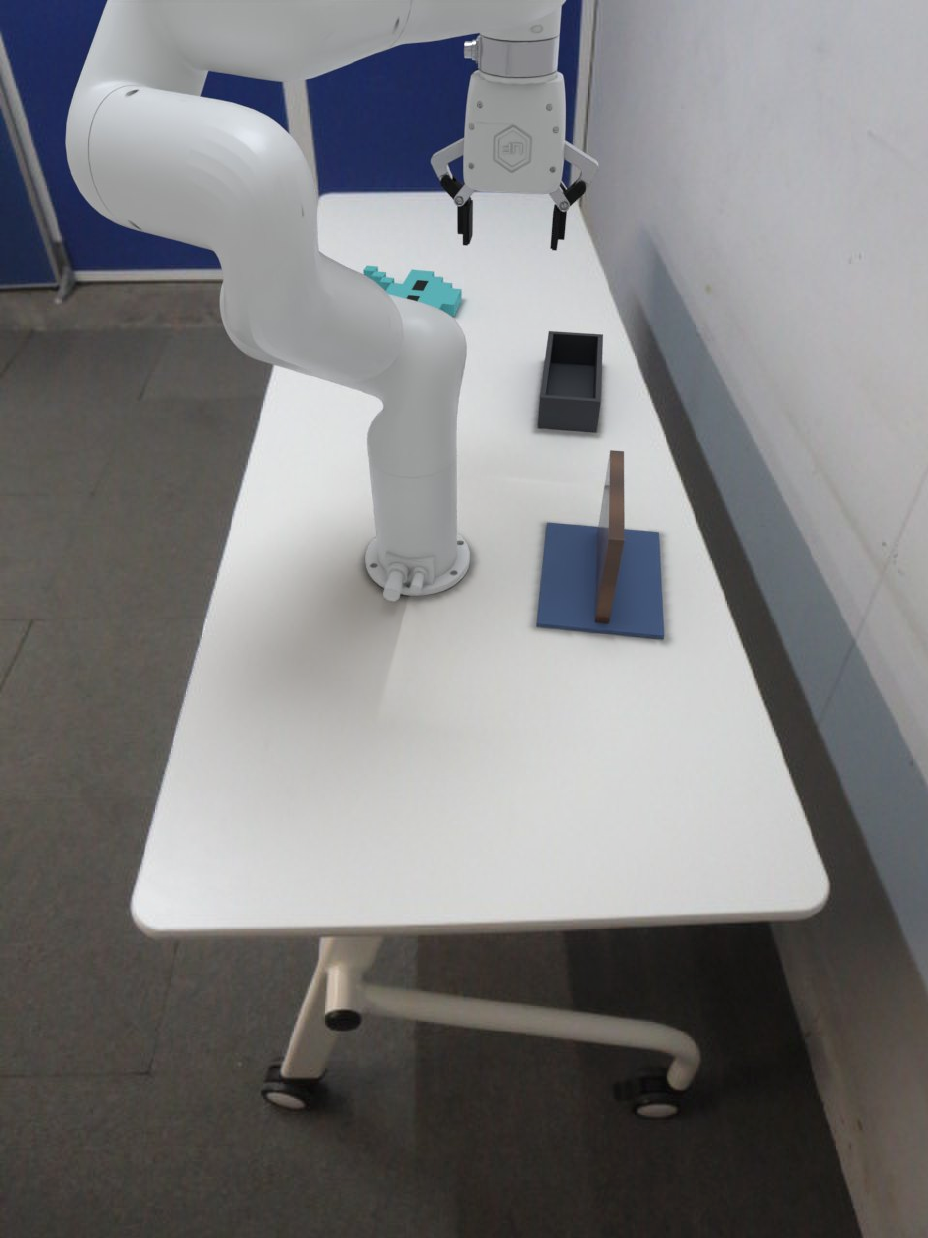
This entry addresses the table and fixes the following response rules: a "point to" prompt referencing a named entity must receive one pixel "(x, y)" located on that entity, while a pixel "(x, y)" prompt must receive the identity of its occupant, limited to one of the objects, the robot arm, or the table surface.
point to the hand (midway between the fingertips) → (510, 243)
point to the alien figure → (420, 288)
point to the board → (610, 537)
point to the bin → (571, 382)
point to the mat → (575, 583)
